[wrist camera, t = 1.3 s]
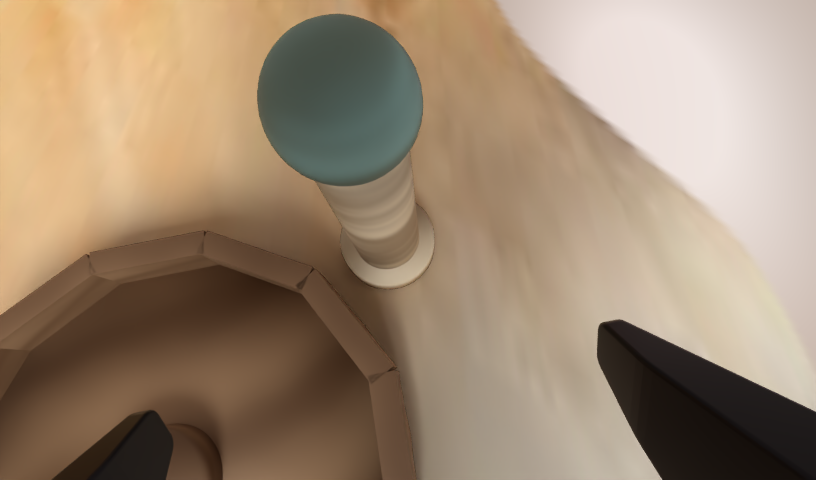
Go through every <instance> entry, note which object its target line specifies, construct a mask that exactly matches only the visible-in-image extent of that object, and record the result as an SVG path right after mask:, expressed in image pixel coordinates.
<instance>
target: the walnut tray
mask: <svg viewBox="0 0 816 480" xmlns="http://www.w3.org/2000/svg"><path fill="white" fill-rule="evenodd" d="M396 368H397V367H396V366H395V364H394V363H393V362H392V361H391V359H390V358H389V357H388V356H387V354H386V353H385V352H384V351H383V349H382V348H381V347H380V346H379V344H378V343H377V342H376V341H375V339H374V338H373V337H372V336H371V334H370V333H369V331H368V330H367V328H366V327H365V326H364V324H363V323H362V322H361V321H360V320H359V319H358V318H357V317H356V315H355V314H354V313H353V312H352V311H351V309H350V308H349V307H348V306H347V304H346V303H345V302H344V301H343V299H342V298H341V297H340V296H339V294H338V293H337V292H336V291H335V289H334V288H333V287H332V286H331V284H330V283H329V282H328V281H327V280H326V278H325V277H323V276H322V275H321V274H320V273H319V272H318V271H317V270H316V269H314V268H313V267H311V266H308V265H305V264H303V263H300V262H297V261H294V260H291V259H288V258H285V257H282V256H279V255H276V254H274V253H271V252H268V251H265V250H262V249H259V248H256V247H253V246H250V245H247V244H245V243H242V242H239V241H236V240H233V239H230V238H227V237H224V236H221V235H218V234H216V233H213V232H210V231H207V232H205V231H199V232H194V233H188V234H183V235H178V236H173V237H168V238H162V239H157V240H152V241H147V242H142V243H136V244H131V245H126V246H121V247H116V248H110V249H105V250H100V251H95V252H90V255H87V254H86V255H84V256H83V257H81V258H80V259H79V260H77V261H76V262H74V263H73V264H72V265H70V266H69V267H67V268H66V269H65V270H63V271H62V272H60V273H59V274H58V275H56V276H55V277H53V278H52V279H51V280H49V281H48V282H46V283H45V284H44V285H42V286H41V287H39V288H38V289H37V290H35V291H34V292H32V293H31V294H29V295H28V296H27V297H25V298H24V299H22V300H21V301H20V302H18V303H17V304H15V305H14V306H13V307H11V308H10V309H8V310H7V311H6V312H4V313H3V314H1V315H0V480H51V479H52V478H53V477H55V476H56V475H57V474H58V473H60V472H61V471H62V470H63V469H64V468H66V467H67V466H68V465H69V464H70V463H72V462H73V461H74V460H75V459H77V458H78V457H79V456H80V455H81V454H83V453H84V452H85V451H86V450H87V449H89V448H90V447H91V446H92V445H93V444H95V443H96V442H97V441H98V440H100V439H101V438H102V437H103V436H104V435H106V434H107V433H108V432H109V431H110V430H112V429H113V428H114V427H115V426H116V425H118V424H119V423H120V422H121V421H123V420H124V419H125V418H126V417H127V416H129V415H130V414H133V413H136V412H141V411H146V410H154V411H156V412H157V413H158V414H159V416H160V417H161V419H162V420H163V422H164V424H165V425H166V427H167V428H168V430H169V432H170V433H171V435H172V437H173V443H174V445H173V452H172V456H171V460H170V464H169V469H168V473H167V477H166V480H417V478H416V472H415V466H414V460H413V450H412V441H411V433H410V428H409V424H408V420H407V415H406V411H405V406H404V400H403V394H402V388H401V382H400V376H399V371H396V370H395V369H396ZM393 370H394V371H393Z"/></svg>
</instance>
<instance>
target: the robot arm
mask: <svg viewBox="0 0 816 480" xmlns="http://www.w3.org/2000/svg"><path fill="white" fill-rule="evenodd" d="M597 358H598V362H599V365H600V367H601V369H602V371H603V373H604V375H605V377H606V379H607V381H608V383H609V385H610V387H611V389H612V391H613V393H614V395H615V397H616V399H617V401H618V403H619V405H620V407H621V409H622V411H623V413H624V415H625V417H626V419H627V421H628V423H629V425H630V427H631V429H632V431H633V433H634V435H635V437H636V438H637V440H638V442H639V443H640V445H641V447H642V448H643V450H644V451H645V453H646V455H647V456H648V458H649V459H650V461H651V463H652V464H653V466H654V467H655V469H656V470H657V472H658V474H659V475H660V477H661V478H662V480H816V412H815V411H813V410H811V409H809V408H807V407H805V406H803V405H801V404H798V403H796V402H794V401H792V400H790V399H788V398H786V397H784V396H782V395H780V394H777V393H775V392H773V391H771V390H769V389H767V388H765V387H763V386H761V385H758V384H756V383H754V382H752V381H750V380H748V379H746V378H744V377H742V376H739V375H737V374H735V373H733V372H731V371H729V370H727V369H725V368H723V367H721V366H718V365H716V364H714V363H712V362H710V361H708V360H706V359H704V358H702V357H699V356H697V355H695V354H693V353H691V352H689V351H687V350H685V349H683V348H681V347H678V346H676V345H674V344H672V343H670V342H668V341H666V340H664V339H662V338H659V337H657V336H655V335H653V334H651V333H649V332H647V331H645V330H643V329H641V328H638V327H636V326H634V325H632V324H630V323H628V322H626V321H623V320H612V321H607V322H603V323H601V324H600V325H599V327H598V341H597ZM173 445H174V443H173V437H172V435H171V433H170V432H169V430H168V428H167V427H166V425H165V424H164V422H163V420H162V419H161V417H160V416H159V414H158V413H157V412H156V411H154V410H146V411H141V412H136V413H133V414H130V415H129V416H127V417H126V418H125V419H124V420H123V421H121V422H120V423H119V424H118V425H116V426H115V427H114V428H113V429H112V430H110V431H109V432H108V433H107V434H106V435H104V436H103V437H102V438H101V439H100V440H98V441H97V442H96V443H95V444H93V445H92V446H91V447H90V448H89V449H87V450H86V451H85V452H84V453H83V454H81V455H80V456H79V457H78V458H77V459H75V460H74V461H73V462H72V463H70V464H69V465H68V466H67V467H66V468H64V469H63V470H62V471H61V472H60V473H58V474H57V475H56V476H55V477H53V478H52V479H51V480H166V477H167V473H168V469H169V464H170V460H171V456H172V452H173Z"/></svg>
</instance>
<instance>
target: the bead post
mask: <svg viewBox="0 0 816 480" xmlns="http://www.w3.org/2000/svg"><path fill="white" fill-rule="evenodd" d="M257 101H258V110H259V116H260V119H261V122H262V126H263V129H264V132H265V134H266V136H267V138H268V139H269V141H270V143H271V145H272V146H273V148H274V149H275V151H276V152H277V153H278V154H279V156H280V157H281V158H282V159H283V160H284V161H285V162H286V163H287V164H288V165H289V166H291V167H292V168H293V169H295V170H296V171H297V172H299V173H300V174H302V175H303V176H305V177H307V178H309V179H312V180H314V181H315V182H316V183H317V185H318V187H319V188H320V190H321V192H322V193H323V195H324V197H325V198H326V200H327V202H328V203H329V205H330V207H331V208H332V210H333V212H334V213H335V215H336V217H337V218H338V220H339V222H340V223H341V225H342V227H343V228H342V232H341V238H340V244H341V251H342V255H343V257H344V259H345V261H346V263H347V265H348V266H349V267H350V269H351V270H352V272H353V273H354V274H355V275H356V276H357V277H358V278H359V279H360V280H361V281H363V282H364V283H366V284H368V285H370V286H372V287H376V288H380V289H397V288H401V287H404V286H407V285H409V284H411V283H412V282H414V281H416V280H417V279H418V278H419V277H420V276H421V275H422V274H423V273H424V272H425V271H426V270H427V268H428V266H429V265H430V263H431V260H432V257H433V254H434V229H433V226H432V223H431V221H430V218H429V217H428V215H427V213H426V212H425V211H424V210H423V209H422V208H421V207H420V206H419V205H418V204H416V202H415V193H414V183H413V174H412V165H411V155H410V149H411V148H412V146H413V144H414V142H415V140H416V138H417V135H418V132H419V129H420V125H421V121H422V115H423V96H422V89H421V83H420V80H419V77H418V74H417V71H416V68H415V66H414V64H413V62H412V60H411V59H410V57H409V55H408V54H407V52H406V51H405V49H404V48H403V47H402V46H401V45H400V44H399V42H398V41H397V40H396V39H395V38H394V37H393V36H392V35H390V34H389V33H388V32H387V31H385V30H384V29H382V28H381V27H379V26H378V25H376V24H374V23H372V22H370V21H367V20H365V19H362V18H359V17H355V16H351V15H344V14H329V15H322V16H318V17H314V18H311V19H308V20H305V21H303V22H301V23H299V24H297V25H296V26H294V27H292V28H291V29H290V30H288V31H287V32H286V33H285V34H284V35H283V36H281V37H280V39H279V40H278V41H277V42H276V43H275V45H274V46H273V47H272V49H271V50H270V52H269V53H268V55H267V57H266V59H265V61H264V64H263V67H262V70H261V73H260V76H259V82H258V90H257Z"/></svg>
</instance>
